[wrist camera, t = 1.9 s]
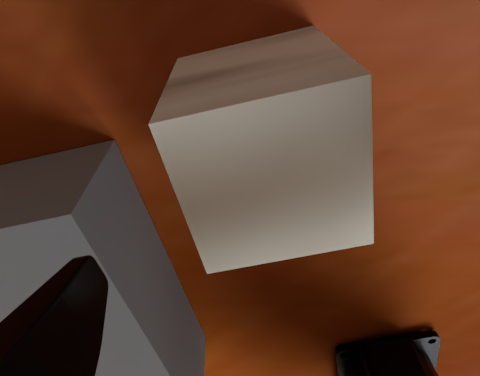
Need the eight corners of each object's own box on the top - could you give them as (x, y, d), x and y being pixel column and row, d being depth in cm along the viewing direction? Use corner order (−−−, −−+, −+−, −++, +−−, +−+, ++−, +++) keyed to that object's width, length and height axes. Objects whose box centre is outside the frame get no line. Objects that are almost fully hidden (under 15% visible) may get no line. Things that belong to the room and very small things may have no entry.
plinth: (206, 337, 22) (201, 426, 18) (0, 371, 24) (-48, 461, 19) (114, 139, 15) (70, 214, 11) (-182, 205, 16) (-325, 295, 12)
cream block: (325, 148, 15) (373, 243, 10) (212, 171, 16) (207, 274, 11) (313, 25, 13) (371, 73, 8) (177, 57, 13) (148, 124, 8)
